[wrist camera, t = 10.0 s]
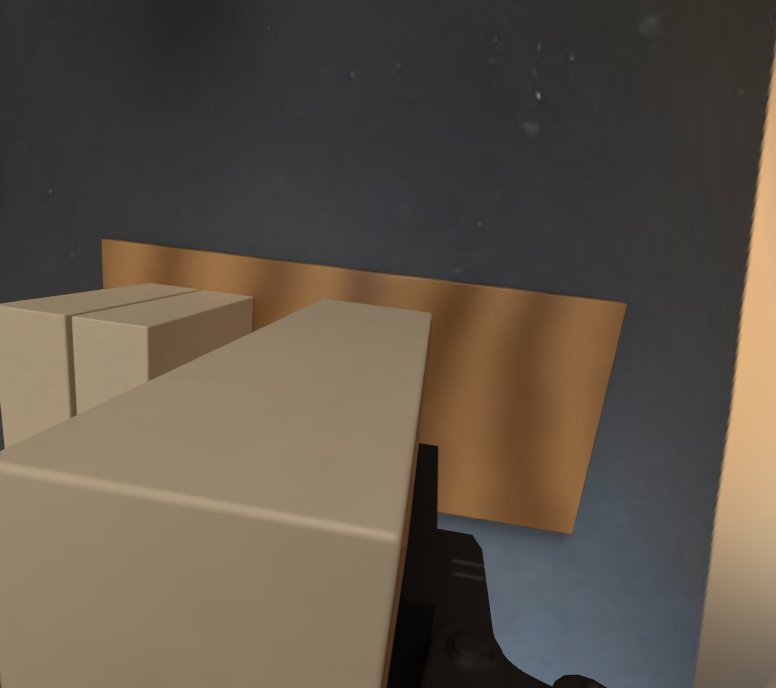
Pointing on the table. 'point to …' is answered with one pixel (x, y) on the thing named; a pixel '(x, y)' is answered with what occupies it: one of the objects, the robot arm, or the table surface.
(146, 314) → the matching cream books
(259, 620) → the cream book
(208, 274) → the shelf board
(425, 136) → the table surface
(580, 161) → the table surface
